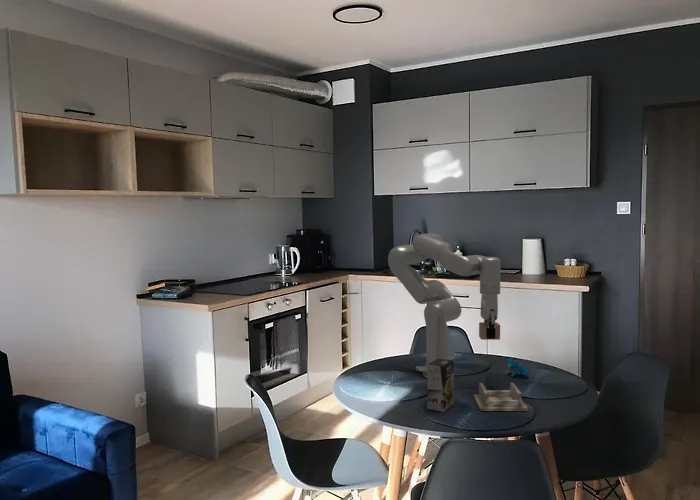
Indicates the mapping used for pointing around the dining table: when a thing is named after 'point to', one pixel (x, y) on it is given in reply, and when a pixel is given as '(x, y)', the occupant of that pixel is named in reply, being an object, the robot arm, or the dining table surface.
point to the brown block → (483, 331)
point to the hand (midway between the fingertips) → (489, 336)
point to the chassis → (500, 399)
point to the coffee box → (440, 384)
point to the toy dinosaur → (516, 368)
